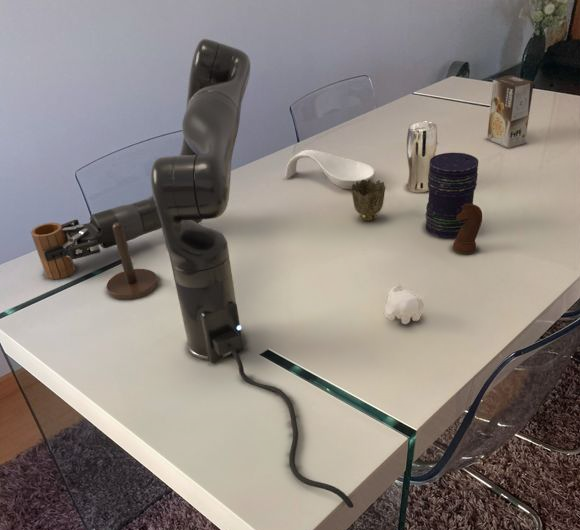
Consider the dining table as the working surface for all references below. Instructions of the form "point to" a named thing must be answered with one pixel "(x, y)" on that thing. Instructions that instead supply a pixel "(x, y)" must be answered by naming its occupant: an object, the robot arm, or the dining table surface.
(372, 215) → the cup
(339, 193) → the dining table surface
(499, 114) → the coffee box
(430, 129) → the beer glass
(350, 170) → the spoon rest
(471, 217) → the chess piece
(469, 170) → the storage jar
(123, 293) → the peg stand
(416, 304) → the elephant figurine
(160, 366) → the dining table surface
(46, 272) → the wooden stave pot
